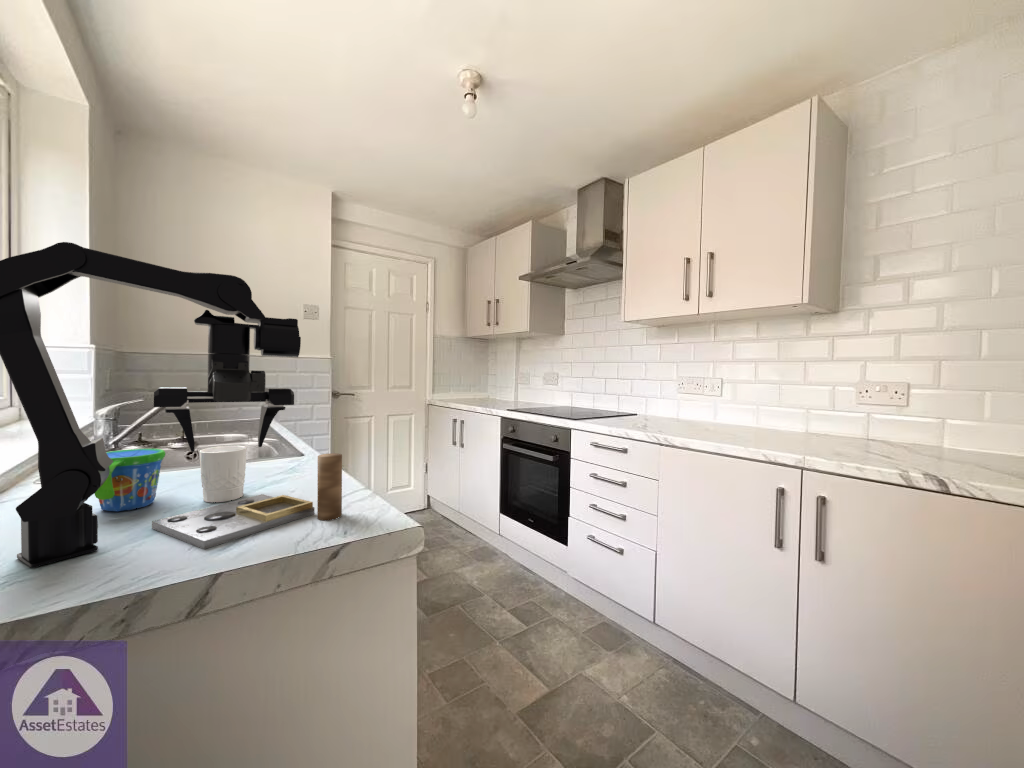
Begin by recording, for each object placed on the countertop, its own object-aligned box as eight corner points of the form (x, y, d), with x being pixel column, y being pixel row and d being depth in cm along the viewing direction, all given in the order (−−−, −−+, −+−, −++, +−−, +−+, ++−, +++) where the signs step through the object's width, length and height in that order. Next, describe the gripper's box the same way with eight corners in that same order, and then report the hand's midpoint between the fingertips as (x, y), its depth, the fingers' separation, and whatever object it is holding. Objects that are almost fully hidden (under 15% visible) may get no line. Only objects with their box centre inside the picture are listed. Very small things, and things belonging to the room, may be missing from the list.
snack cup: (124, 495, 86) (124, 446, 86) (183, 493, 89) (183, 445, 88) (60, 522, 71) (59, 462, 71) (133, 519, 73) (132, 460, 73)
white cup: (255, 493, 90) (255, 446, 89) (226, 504, 82) (226, 453, 81) (220, 491, 90) (220, 444, 90) (189, 502, 83) (189, 451, 82)
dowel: (318, 521, 73) (318, 458, 73) (316, 514, 77) (316, 454, 76) (343, 518, 75) (343, 456, 75) (340, 511, 79) (340, 452, 78)
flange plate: (204, 549, 61) (204, 534, 61) (151, 528, 69) (151, 515, 69) (314, 513, 77) (314, 501, 77) (262, 500, 85) (262, 489, 85)
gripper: (152, 349, 58) (150, 463, 58) (302, 356, 69) (300, 451, 70) (156, 351, 66) (154, 451, 67) (288, 357, 78) (286, 442, 78)
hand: (227, 449), depth 70 cm, fingers open, 9 cm apart
